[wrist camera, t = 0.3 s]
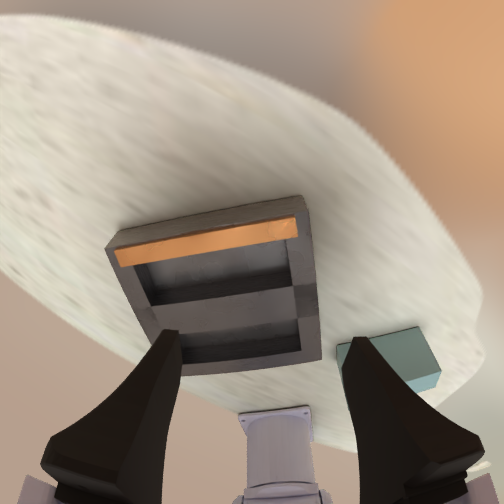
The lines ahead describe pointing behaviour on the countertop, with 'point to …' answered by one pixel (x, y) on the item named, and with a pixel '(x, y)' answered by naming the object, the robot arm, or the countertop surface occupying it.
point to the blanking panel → (404, 358)
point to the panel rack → (226, 285)
